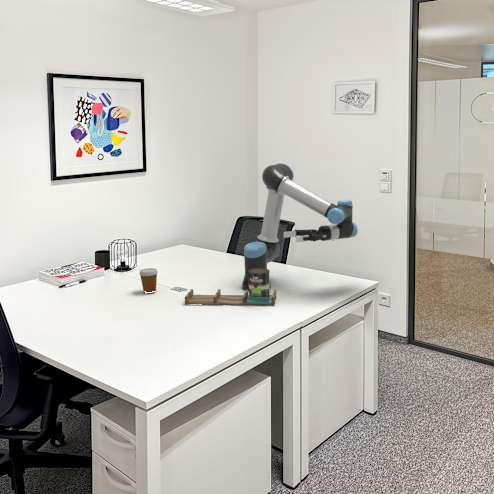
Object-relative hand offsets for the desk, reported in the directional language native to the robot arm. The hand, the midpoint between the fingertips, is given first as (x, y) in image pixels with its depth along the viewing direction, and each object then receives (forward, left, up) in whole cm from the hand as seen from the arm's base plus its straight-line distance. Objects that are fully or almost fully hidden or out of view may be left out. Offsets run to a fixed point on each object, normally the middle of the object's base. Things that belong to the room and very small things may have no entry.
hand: (290, 237), depth 290 cm
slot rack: (+9, -29, -30) cm, 42 cm away
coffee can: (+9, -15, -29) cm, 34 cm away
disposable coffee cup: (-6, -74, -30) cm, 80 cm away
